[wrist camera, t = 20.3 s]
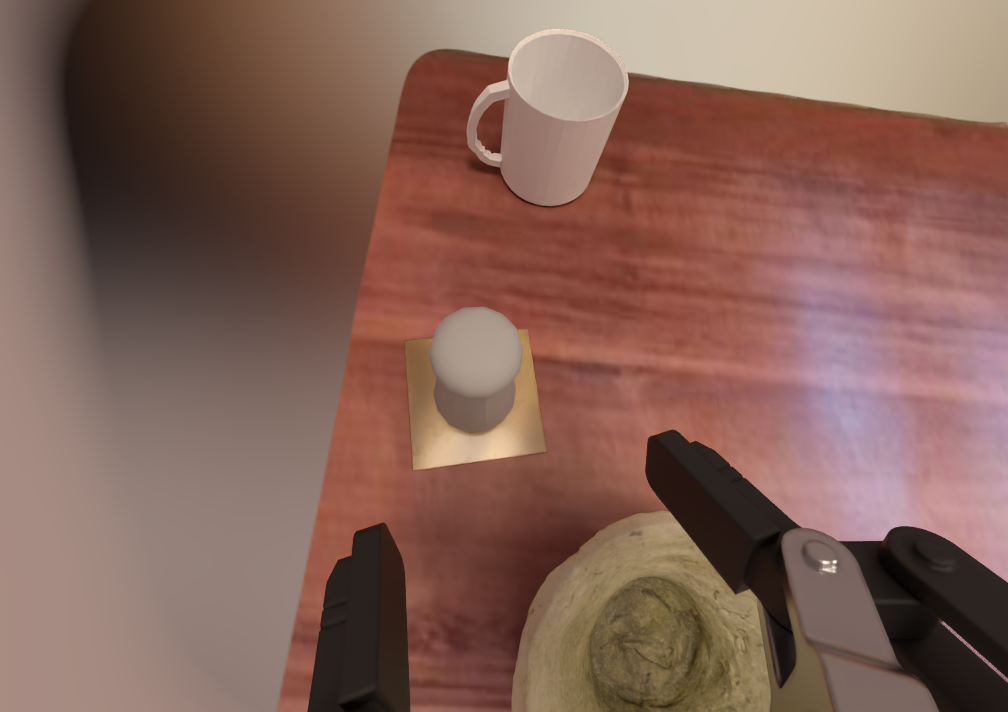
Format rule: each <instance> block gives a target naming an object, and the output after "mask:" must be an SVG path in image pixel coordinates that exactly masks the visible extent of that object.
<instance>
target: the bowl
mask: <svg viewBox="0 0 1008 712" xmlns="http://www.w3.org/2000/svg"><path fill="white" fill-rule="evenodd" d="M757 599H758V598H757V597H756V596H755V595H754V593H753V592H752V591H751V590H750V589H749V590H746V591H744V592H742V593H739V594H737V595H735V594H734V592H733V591H732V590H731V589H730V587H729V586H728V585H727V583H726V582H725V581H724V580H723V578H722V577H721V576H720V575H719V573H718V572H717V571H716V570H715V568H714V567H713V566H712V565H711V563H710V562H709V561H708V559H707V558H706V557H705V556H704V554H703V553H702V552H701V551H700V549H699V548H698V547H697V546H696V544H695V543H694V542H693V540H692V539H691V538H690V537H689V535H688V534H687V533H686V532H685V530H684V529H683V528H682V527H681V525H680V524H679V523H678V522H677V520H676V519H675V518H674V516H673V515H672V514H671V513H670V511H664V510H658V511H654V512H649V513H638V514H634V515H631V516H630V517H627V518H625V519H621V520H619V521H616V522H614V523H611V524H609V525H607V526H606V527H605V528H604V529H602V530H600V531H598V532H597V533H596V534H595V536H594V537H592V538H590V540H588V541H587V542H586V543H585V544H584V545H582V546H581V547H580V550H579V551H578V552H577V553H575V554H574V555H571V556H570V557H569V558H567V560H565V561H564V562H563V563H562V564H561V565H559V566H557V567H556V568H555V569H554V570H553V571H552V572H551V573H550V574H549V575H548V576H547V577H546V579H545V581H544V583H543V584H542V585H541V587H540V588H539V590H538V592H537V594H536V596H535V598H534V600H533V602H532V604H531V606H530V608H529V611H528V616H527V621H526V623H525V627H524V629H523V632H522V635H521V641H520V646H519V652H518V658H517V662H516V666H515V673H514V676H513V689H512V700H511V701H512V707H511V710H512V712H770V703H771V692H770V683H769V677H768V671H767V664H766V658H765V652H764V646H763V639H762V633H761V627H760V621H759V615H758V608H757Z"/></svg>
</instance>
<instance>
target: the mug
mask: <svg viewBox="0 0 1008 712" xmlns="http://www.w3.org/2000/svg"><path fill="white" fill-rule="evenodd" d="M628 84H629V81H628V73H627V71H626V68H625V66H624V64H623V62H622V60H621V59H620V57H619V56H618V55H617V54H616V53H615V52H614V51H613V49H611V48H610V47H609V46H608V45H606V44H605V43H604V42H602V41H600V40H598V39H597V38H595V37H593V36H590V35H588V34H585V33H582V32H578V31H574V30H566V29H549V30H545V31H540V32H537V33H535V34H532V35H530V36H528V37H526V38H525V39H523V40H522V41H521V42H520V43H519V44H518V45H517V46H516V47H515V48H514V50H513V52H512V54H511V56H510V60H509V64H508V75H507V80H505V81H502V82H499V83H495V84H492V85H489V86H487V88H486V89H485V90H484V91H483V92H482V93H481V95H480V96H479V97H478V98H477V99H476V101H475V103H474V105H473V107H472V110H471V113H470V116H469V120H468V125H467V138H468V147H469V148H470V149H471V150H472V152H476V155H477V156H478V158H479V159H480V160H481V161H483V162H484V163H486V164H488V165H491V166H496V167H500V169H501V174H502V176H503V178H504V180H505V182H506V183H507V185H508V186H509V187H510V189H511V190H512V191H513V192H514V193H515V194H516V195H518V196H519V197H521V198H522V199H524V200H526V201H528V202H530V203H533V204H537V205H541V206H557V205H562V204H565V203H568V202H570V201H572V200H574V199H576V198H577V197H578V196H580V195H581V194H582V193H583V192H584V191H585V189H586V188H587V186H588V184H589V182H590V179H591V177H592V175H593V172H594V170H595V167H596V165H597V163H598V160H599V158H600V156H601V153H602V151H603V148H604V146H605V144H606V141H607V139H608V136H609V134H610V132H611V129H612V127H613V125H614V122H615V120H616V117H617V115H618V113H619V110H620V108H621V105H622V103H623V101H624V98H625V96H626V94H627V91H628ZM502 99H505V108H504V119H503V130H502V141H501V152H500V154H498V153H492V154H491V152H490V151H489V150H485V147H484V146H482V144H481V142H480V141H479V140H478V139H477V132H476V127H477V125H478V122H479V119H480V118H481V116H482V114H483V112H484V111H485V110H486V109H487V108H488V107H489V106H490V105H491V103H492V102H495V101H499V100H502Z"/></svg>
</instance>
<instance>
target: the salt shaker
mask: <svg viewBox="0 0 1008 712" xmlns="http://www.w3.org/2000/svg"><path fill="white" fill-rule="evenodd" d="M522 352H523V349H522V344H521V341H520V338H519V335H518V332H517V329H516V327H515V326H514V325H513V324H512V323H511V322H510V321H509V320H508V319H507V318H506V317H505V316H504V315H503V314H501V313H499V312H496V311H494V310H491V309H489V308H487V307H464V308H462V309H460V310H458V311H456V312H454V313H452V314H450V315H448V316H446V317H445V318H444V320H443V321H442V322H441V324H440V325H439V326H438V327H437V329H436V330H435V331H434V335H433V339H432V343H431V348H430V352H429V357H430V361H431V365H432V368H433V372H434V375H435V376H436V382H435V386H434V391H433V395H434V399H435V403H436V406H437V410H438V412H439V413H440V414H441V415H442V417H443V418H444V419H445V420H446V421H447V422H448V424H449V425H450V426H453V427H455V428H458V429H461V430H463V431H466V432H483V431H488V430H490V429H491V428H493V427H495V426H496V425H498V424H500V423H501V422H503V421H504V419H505V418H506V416H507V415H508V414H509V412H510V411H511V409H512V408H513V406H514V399H515V391H516V387H515V384H514V381H513V380H514V378H515V377H516V375H517V374H518V373H519V371H520V368H521V360H522Z"/></svg>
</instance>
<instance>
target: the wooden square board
mask: <svg viewBox="0 0 1008 712" xmlns="http://www.w3.org/2000/svg"><path fill="white" fill-rule="evenodd" d="M517 332H518V335H519V338H520V341H521V344H522V349H523V352H522V360H521V368H520V371H519V373H518V374H517V375H516V377H515V378H514V380H513V381H514V384H515V387H516V391H515V399H514V406H513V408H512V409H511V411H510V412H509V414H508V415H507V416H506V418H505V419H504V421H503V422H501V423H500V424H498V425H496V426H495V427H493V428H491V429H490V430H488V431H483V432H466V431H463V430H461V429H458V428H455V427H453V426H450V425H449V424H448V422H447V421H446V420H445V419H444V418H443V417H442V415H441V414H440V413H439V412H438V410H437V406H436V403H435V399H434V395H433V391H434V386H435V382H436V376H435V375H434V372H433V368H432V365H431V361H430V357H429V352H430V348H431V343H432V339H433V338H427V339H417V340H406V341H404V344H405V359H406V375H407V391H408V407H409V422H410V438H411V454H412V469H413V471H418V470H425V469H432V468H439V467H446V466H454V465H461V464H468V463H475V462H483V461H490V460H497V459H504V458H511V457H519V456H526V455H533V454H540V453H546V452H547V449H546V442H545V436H544V430H543V423H542V417H541V411H540V405H539V398H538V392H537V386H536V379H535V373H534V367H533V360H532V354H531V348H530V342H529V335H528V329H519V330H517Z"/></svg>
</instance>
